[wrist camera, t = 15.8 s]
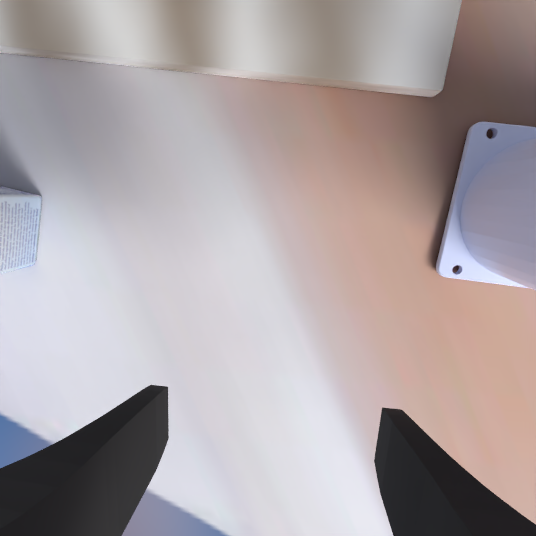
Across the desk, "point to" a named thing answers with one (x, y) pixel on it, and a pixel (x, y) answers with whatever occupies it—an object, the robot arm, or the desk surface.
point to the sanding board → (248, 38)
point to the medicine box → (18, 228)
